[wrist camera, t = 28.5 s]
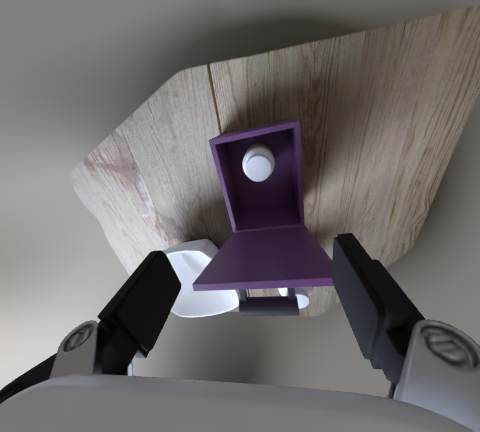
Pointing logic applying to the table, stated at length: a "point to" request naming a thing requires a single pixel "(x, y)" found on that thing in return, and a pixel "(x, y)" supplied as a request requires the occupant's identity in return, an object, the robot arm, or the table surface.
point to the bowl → (188, 269)
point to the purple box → (269, 190)
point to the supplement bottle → (258, 162)
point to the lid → (267, 268)
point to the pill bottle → (299, 295)
